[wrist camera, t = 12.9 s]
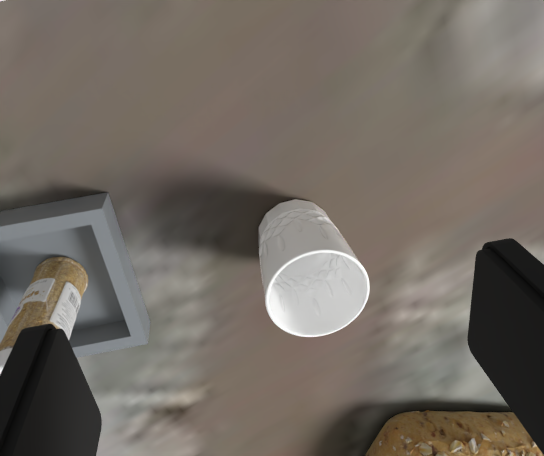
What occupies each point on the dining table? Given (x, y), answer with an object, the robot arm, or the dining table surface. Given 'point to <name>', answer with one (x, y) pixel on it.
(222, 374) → the dining table surface
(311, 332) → the white cup
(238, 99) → the dining table surface
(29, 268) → the tray
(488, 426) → the bread
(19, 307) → the sprinkles bottle
